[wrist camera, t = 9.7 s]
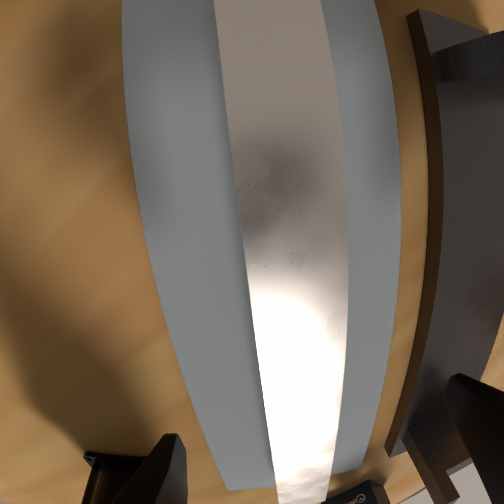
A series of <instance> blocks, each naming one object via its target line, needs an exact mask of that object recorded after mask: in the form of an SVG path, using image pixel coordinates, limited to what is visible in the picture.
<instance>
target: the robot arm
mask: <svg viewBox="0 0 504 504" xmlns="http://www.w3.org/2000/svg"><path fill="white" fill-rule="evenodd" d="M444 399H445V402H446V404H447V407H448V409H449V411H450V414H451V416H452V419H453V421H454V424H455V426H456V429H457V431H458V433H459V435H460V437H461V439H462V441H463V443H464V445H465V447H466V449H467V451H468V453H469V455H470V457H471V459H472V461H473V463H474V465H475V467H476V469H477V471H478V473H479V475H480V478H481V480H482V482H483V484H484V487H485V489H486V491H487V493H488V496H489V498H490V500H491V503H492V504H504V392H503V391H501V390H499V389H496V388H494V387H492V386H489V385H487V384H485V383H482V382H480V381H478V380H476V379H473V378H471V377H469V376H467V375H464V374H462V373H457V374H454V375H452V376H450V378H449V379H448V382H447V385H446V388H445V390H444ZM83 458H84V459H85V460H86V462H87V463H88V464H89V465H90V466H91V467H92V469H91V472H90V476H89V479H88V482H87V486H86V489H85V493H84V496H83V500H82V503H81V504H187V497H188V487H187V463H186V449H185V447H184V445H183V443H182V441H181V439H180V437H179V435H178V434H176V433H167V434H164V435H163V436H162V438H161V439H160V440H159V442H158V443H157V444H156V446H155V447H154V448H153V450H152V451H151V452H150V454H149V455H148V456H147V458H135V457H123V456H113V455H104V454H96V453H89V452H85V453H84V456H83Z"/></svg>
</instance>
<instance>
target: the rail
mask: <svg viewBox="0 0 504 504" xmlns="http://www.w3.org/2000/svg"><path fill="white" fill-rule="evenodd" d="M213 3H214V13H215V22H216V31H217V39H218V48H219V57H220V66H221V74H222V83H223V91H224V99H225V108H226V116H227V124H228V133H229V141H230V149H231V157H232V165H233V173H234V181H235V189H236V197H237V205H238V213H239V221H240V228H241V236H242V244H243V252H244V259H245V267H246V274H247V282H248V290H249V297H250V305H251V312H252V319H253V327H254V334H255V341H256V349H257V356H258V363H259V371H260V378H261V385H262V392H263V399H264V406H265V413H266V420H267V427H268V434H269V441H270V448H271V455H272V462H273V469H274V475H275V482H276V488H277V494H278V500H279V504H314V503H319V502H323V501H325V500H326V495H327V490H328V485H329V480H330V475H331V469H332V463H333V457H334V451H335V445H336V438H337V431H338V424H339V416H340V407H341V398H342V389H343V378H344V367H345V353H346V337H347V317H348V278H349V249H348V211H347V190H346V174H345V161H344V149H343V138H342V128H341V119H340V111H339V103H338V95H337V88H336V81H335V75H334V68H333V62H332V56H331V51H330V45H329V40H328V34H327V29H326V25H325V20H324V15H323V11H322V6H321V2H320V0H213Z"/></svg>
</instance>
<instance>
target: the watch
mask: <svg viewBox="0 0 504 504" xmlns="http://www.w3.org/2000/svg"><path fill="white" fill-rule="evenodd" d="M321 504H390V501H389V499H388V496H387V494H386V492H385V489H384V487H383V486H381V485H379V484H377V483H374V482H372V481H370V480H368V481H366V482H364V483H362V484H360V485H358V486H356V487H354V488H352V489H350V490H348V491H346V492H344V493H342V494H340V495H337V496H335V497H333V498H331V499H328V500H326V501H324V502H321Z"/></svg>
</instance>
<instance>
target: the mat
mask: <svg viewBox="0 0 504 504" xmlns="http://www.w3.org/2000/svg"><path fill="white" fill-rule="evenodd" d="M320 2H321V6H322V11H323V15H324V20H325V25H326V29H327V34H328V40H329V45H330V51H331V56H332V62H333V68H334V75H335V81H336V88H337V95H338V103H339V111H340V119H341V128H342V138H343V149H344V161H345V174H346V190H347V211H348V249H349V278H348V317H347V337H346V353H345V367H344V378H343V389H342V398H341V407H340V416H339V424H338V431H337V438H336V445H335V451H334V457H333V463H332V469H331V475H335V474H339V473H343V472H347V471H350V470H354V469H357V468H361V466H362V463H363V460H364V457H365V454H366V450H367V447H368V444H369V440H370V437H371V433H372V430H373V426H374V422H375V418H376V414H377V410H378V406H379V402H380V398H381V393H382V388H383V384H384V379H385V374H386V369H387V363H388V358H389V352H390V346H391V339H392V333H393V326H394V318H395V310H396V301H397V291H398V280H399V266H400V248H401V168H400V151H399V137H398V126H397V117H396V108H395V100H394V93H393V86H392V80H391V74H390V68H389V62H388V57H387V52H386V47H385V42H384V38H383V33H382V29H381V25H380V21H379V17H378V13H377V9H376V6H375V2H374V0H320ZM121 26H122V62H123V80H124V94H125V106H126V116H127V126H128V134H129V143H130V150H131V158H132V165H133V172H134V178H135V184H136V190H137V196H138V202H139V208H140V213H141V218H142V223H143V229H144V233H145V238H146V243H147V248H148V252H149V257H150V261H151V266H152V270H153V274H154V278H155V282H156V286H157V290H158V294H159V298H160V302H161V306H162V309H163V313H164V317H165V320H166V324H167V327H168V331H169V334H170V338H171V341H172V344H173V348H174V351H175V354H176V357H177V361H178V364H179V367H180V370H181V373H182V376H183V379H184V382H185V385H186V388H187V391H188V394H189V396H190V399H191V402H192V405H193V408H194V410H195V413H196V416H197V418H198V421H199V424H200V426H201V429H202V431H203V434H204V437H205V439H206V442H207V444H208V446H209V449H210V451H211V454H212V456H213V458H214V461H215V463H216V465H217V468H218V470H219V472H220V475H221V477H222V479H223V481H224V483H225V486H226V488H227V490H228V491H232V490H245V489H256V488H264V487H272V486H276V482H275V475H274V469H273V462H272V455H271V448H270V441H269V434H268V427H267V420H266V413H265V406H264V399H263V392H262V385H261V378H260V371H259V363H258V356H257V349H256V341H255V334H254V327H253V319H252V312H251V305H250V297H249V290H248V282H247V274H246V267H245V259H244V252H243V244H242V236H241V228H240V221H239V213H238V205H237V197H236V189H235V181H234V173H233V165H232V157H231V149H230V141H229V133H228V124H227V116H226V108H225V99H224V91H223V83H222V74H221V66H220V57H219V48H218V39H217V31H216V22H215V13H214V3H213V0H122V15H121ZM331 475H330V476H331Z"/></svg>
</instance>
